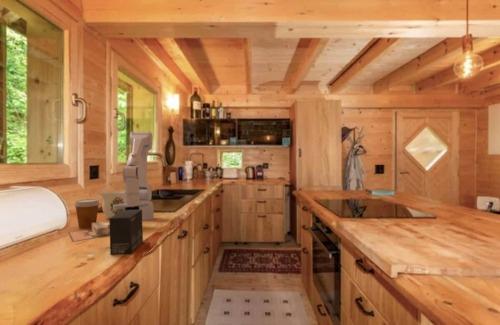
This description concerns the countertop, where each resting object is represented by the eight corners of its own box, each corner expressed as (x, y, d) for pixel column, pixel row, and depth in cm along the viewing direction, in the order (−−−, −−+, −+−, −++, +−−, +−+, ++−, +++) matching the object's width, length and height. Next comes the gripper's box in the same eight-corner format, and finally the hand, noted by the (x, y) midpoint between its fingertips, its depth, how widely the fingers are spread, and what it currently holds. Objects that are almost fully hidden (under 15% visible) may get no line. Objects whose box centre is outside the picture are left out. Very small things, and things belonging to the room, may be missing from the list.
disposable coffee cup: (104, 225, 121) (104, 199, 121) (90, 230, 112) (89, 202, 111) (85, 224, 122) (84, 198, 122) (69, 230, 113) (68, 202, 112)
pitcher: (138, 216, 139) (138, 190, 139) (102, 222, 126) (101, 193, 125) (129, 213, 147) (128, 188, 146) (93, 219, 133) (93, 191, 133)
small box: (123, 242, 97) (123, 209, 97) (143, 241, 98) (143, 209, 98) (109, 255, 84) (108, 217, 84) (131, 254, 85) (131, 217, 85)
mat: (123, 225, 121) (123, 224, 121) (133, 233, 108) (133, 231, 108) (68, 233, 108) (68, 232, 108) (72, 243, 95) (72, 242, 95)
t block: (120, 225, 118) (120, 218, 118) (127, 231, 108) (127, 224, 108) (91, 229, 111) (91, 222, 111) (96, 236, 102) (96, 228, 102)
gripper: (115, 195, 107) (116, 229, 108) (151, 192, 116) (152, 223, 117) (111, 193, 113) (112, 225, 113) (146, 191, 122) (146, 220, 122)
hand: (132, 224), depth 115 cm, fingers closed
